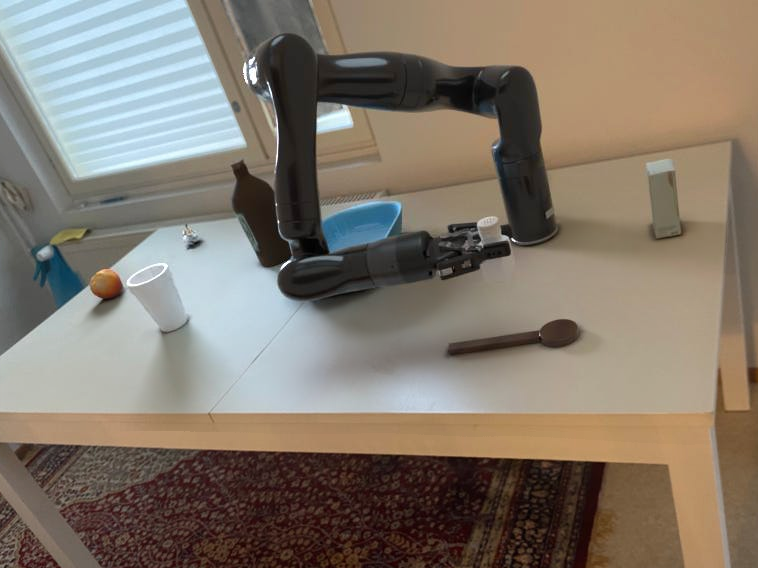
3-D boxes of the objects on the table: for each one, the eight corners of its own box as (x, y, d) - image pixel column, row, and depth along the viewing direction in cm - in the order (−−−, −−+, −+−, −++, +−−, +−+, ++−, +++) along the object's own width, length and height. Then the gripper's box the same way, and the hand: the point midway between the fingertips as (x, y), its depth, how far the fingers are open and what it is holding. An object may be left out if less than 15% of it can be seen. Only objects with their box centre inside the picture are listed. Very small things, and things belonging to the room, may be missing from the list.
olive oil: (292, 242, 179) (252, 148, 166) (303, 254, 170) (262, 156, 157) (254, 259, 177) (211, 166, 164) (263, 272, 168) (218, 174, 155)
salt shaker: (507, 284, 104) (494, 227, 99) (484, 284, 107) (469, 228, 102) (518, 270, 107) (505, 214, 102) (494, 270, 109) (481, 215, 104)
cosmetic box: (681, 235, 124) (676, 170, 117) (655, 239, 125) (648, 175, 119) (677, 219, 129) (671, 156, 122) (652, 224, 130) (645, 161, 124)
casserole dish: (334, 234, 174) (324, 208, 170) (418, 219, 166) (410, 191, 162) (280, 316, 146) (267, 286, 142) (378, 302, 138) (367, 270, 134)
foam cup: (158, 340, 154) (129, 290, 147) (152, 326, 162) (123, 278, 155) (198, 320, 156) (171, 270, 149) (189, 307, 164) (163, 259, 157)
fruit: (134, 278, 188) (111, 263, 182) (125, 304, 186) (101, 291, 179) (114, 279, 192) (90, 265, 186) (105, 305, 190) (80, 292, 183)
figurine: (192, 247, 199) (182, 228, 196) (182, 247, 202) (172, 228, 199) (204, 238, 203) (195, 219, 199) (194, 238, 205) (185, 220, 202)
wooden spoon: (447, 362, 114) (445, 356, 113) (451, 341, 118) (449, 335, 118) (579, 344, 107) (578, 337, 106) (578, 322, 112) (577, 316, 111)
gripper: (385, 260, 100) (502, 238, 95) (402, 217, 112) (508, 195, 106) (400, 304, 104) (513, 285, 99) (415, 258, 116) (518, 239, 110)
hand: (510, 239), depth 103 cm, fingers closed on salt shaker, 4 cm apart
